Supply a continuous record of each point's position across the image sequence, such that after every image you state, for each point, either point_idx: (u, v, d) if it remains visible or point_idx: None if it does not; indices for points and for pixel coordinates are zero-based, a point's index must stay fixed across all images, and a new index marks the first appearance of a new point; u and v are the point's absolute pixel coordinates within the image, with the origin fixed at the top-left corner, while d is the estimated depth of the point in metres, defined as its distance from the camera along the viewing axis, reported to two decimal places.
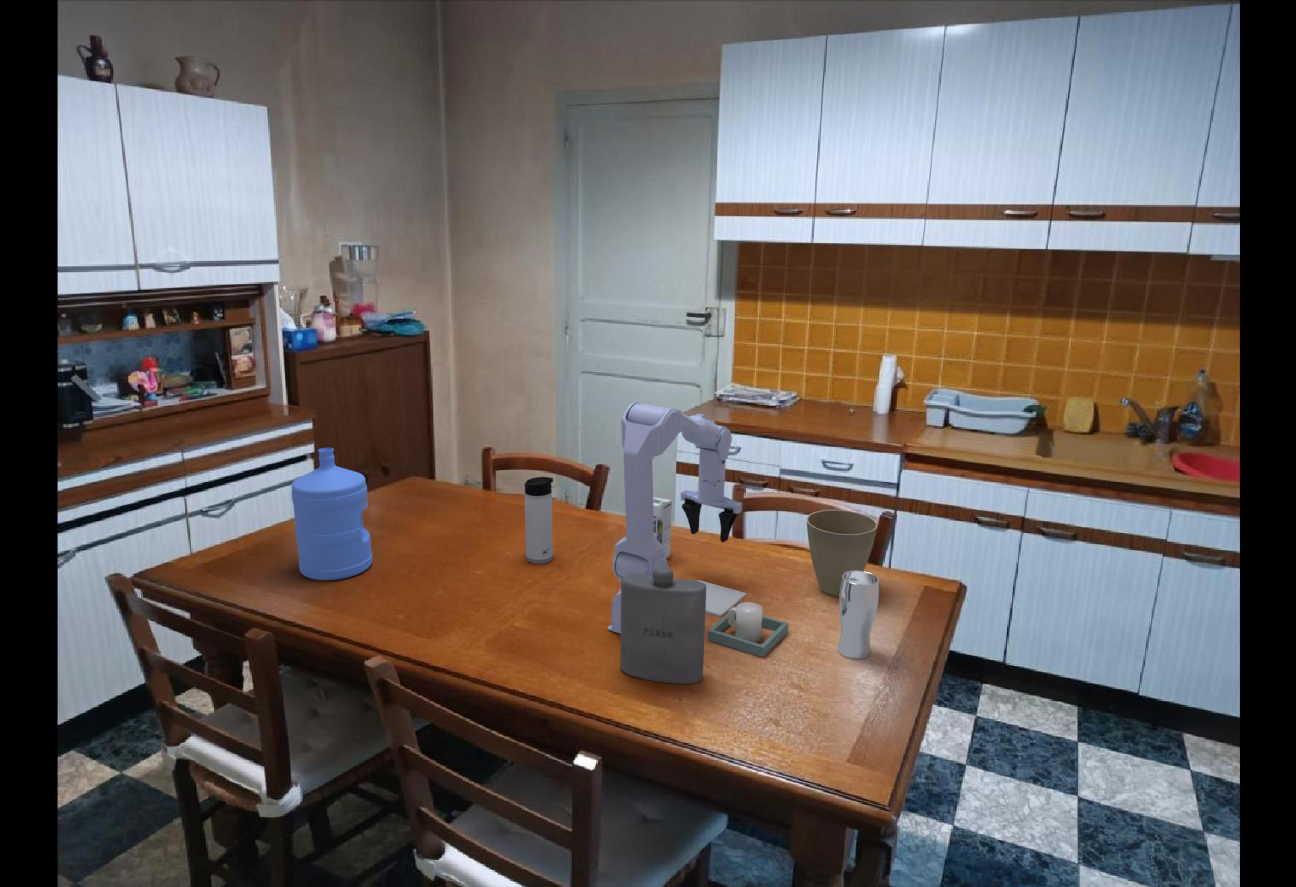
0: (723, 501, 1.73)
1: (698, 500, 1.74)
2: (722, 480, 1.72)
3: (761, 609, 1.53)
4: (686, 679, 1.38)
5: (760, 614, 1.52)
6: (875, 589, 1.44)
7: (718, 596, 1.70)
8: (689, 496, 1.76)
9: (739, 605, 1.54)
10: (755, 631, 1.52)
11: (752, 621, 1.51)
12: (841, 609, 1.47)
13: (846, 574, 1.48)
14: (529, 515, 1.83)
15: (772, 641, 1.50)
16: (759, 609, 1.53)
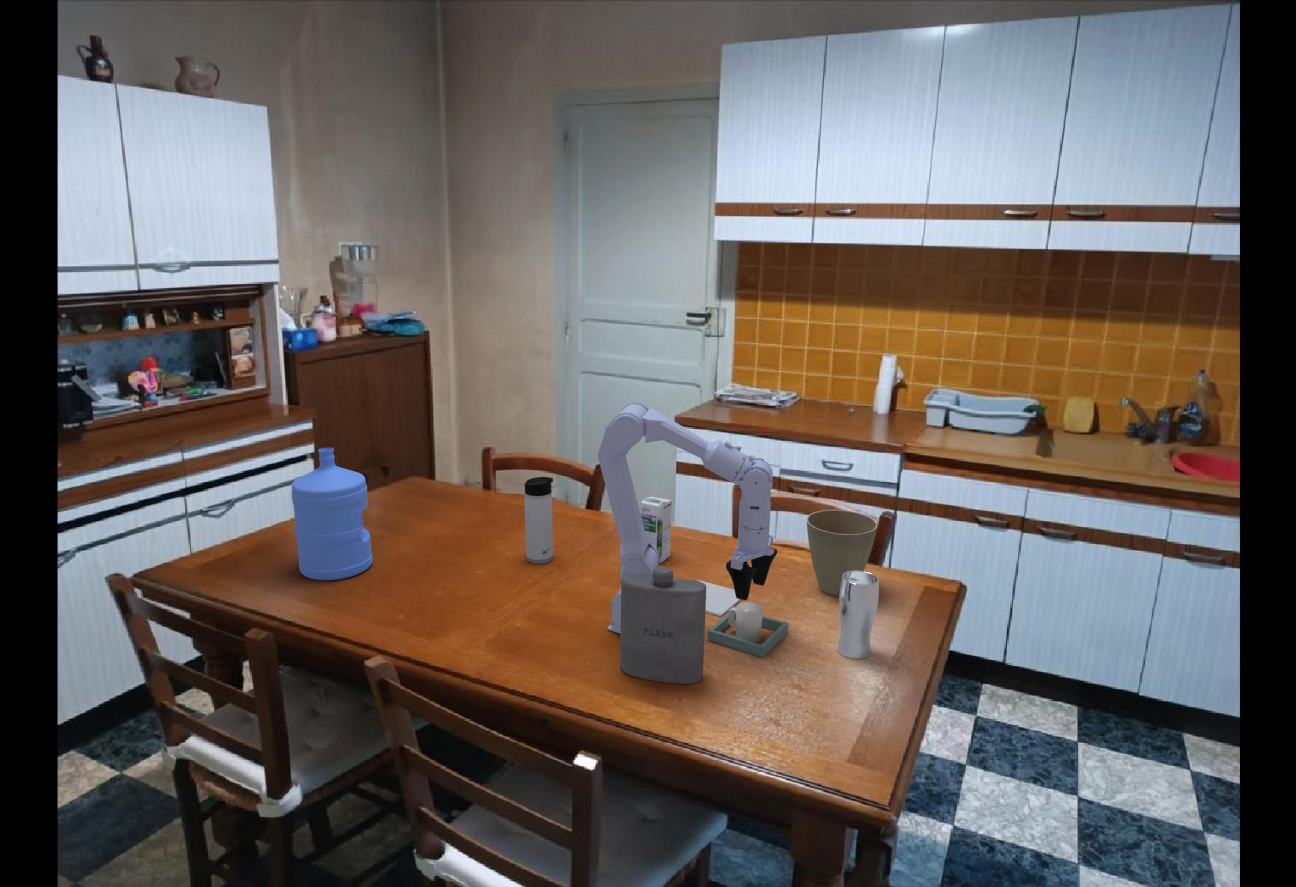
0: None
1: None
2: (746, 528, 1.47)
3: (761, 609, 1.53)
4: (686, 679, 1.38)
5: (760, 614, 1.52)
6: (875, 589, 1.44)
7: (718, 596, 1.70)
8: None
9: (739, 605, 1.54)
10: (755, 631, 1.52)
11: (752, 621, 1.51)
12: (841, 609, 1.47)
13: (846, 574, 1.48)
14: (529, 515, 1.83)
15: (772, 641, 1.50)
16: (759, 609, 1.53)
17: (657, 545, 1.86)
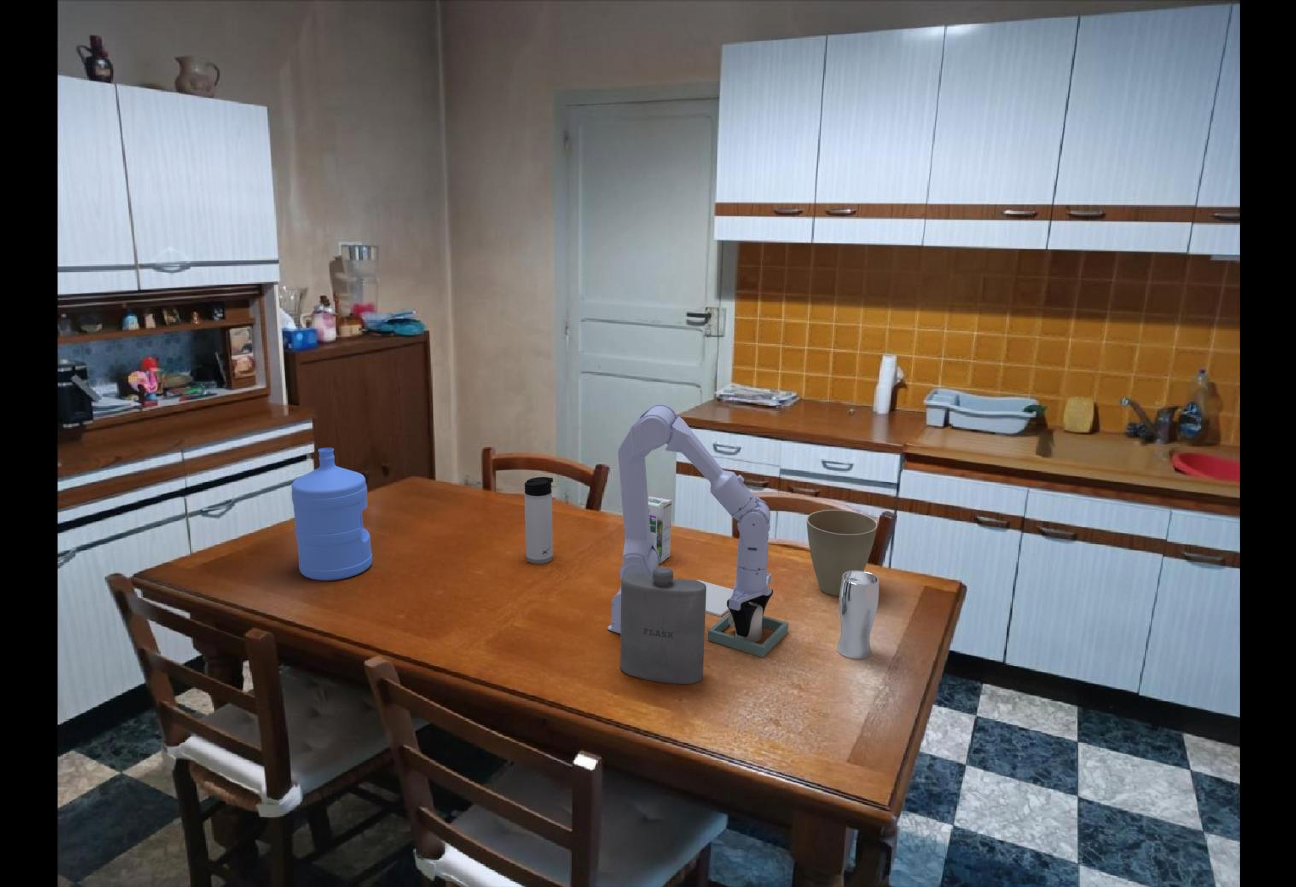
0: None
1: None
2: (744, 568, 1.49)
3: (761, 609, 1.53)
4: (686, 679, 1.38)
5: (760, 614, 1.52)
6: (875, 589, 1.44)
7: (718, 596, 1.70)
8: None
9: None
10: (755, 631, 1.52)
11: (752, 620, 1.51)
12: (841, 609, 1.47)
13: (846, 574, 1.48)
14: (529, 515, 1.83)
15: (772, 641, 1.50)
16: (759, 609, 1.53)
17: (657, 545, 1.86)
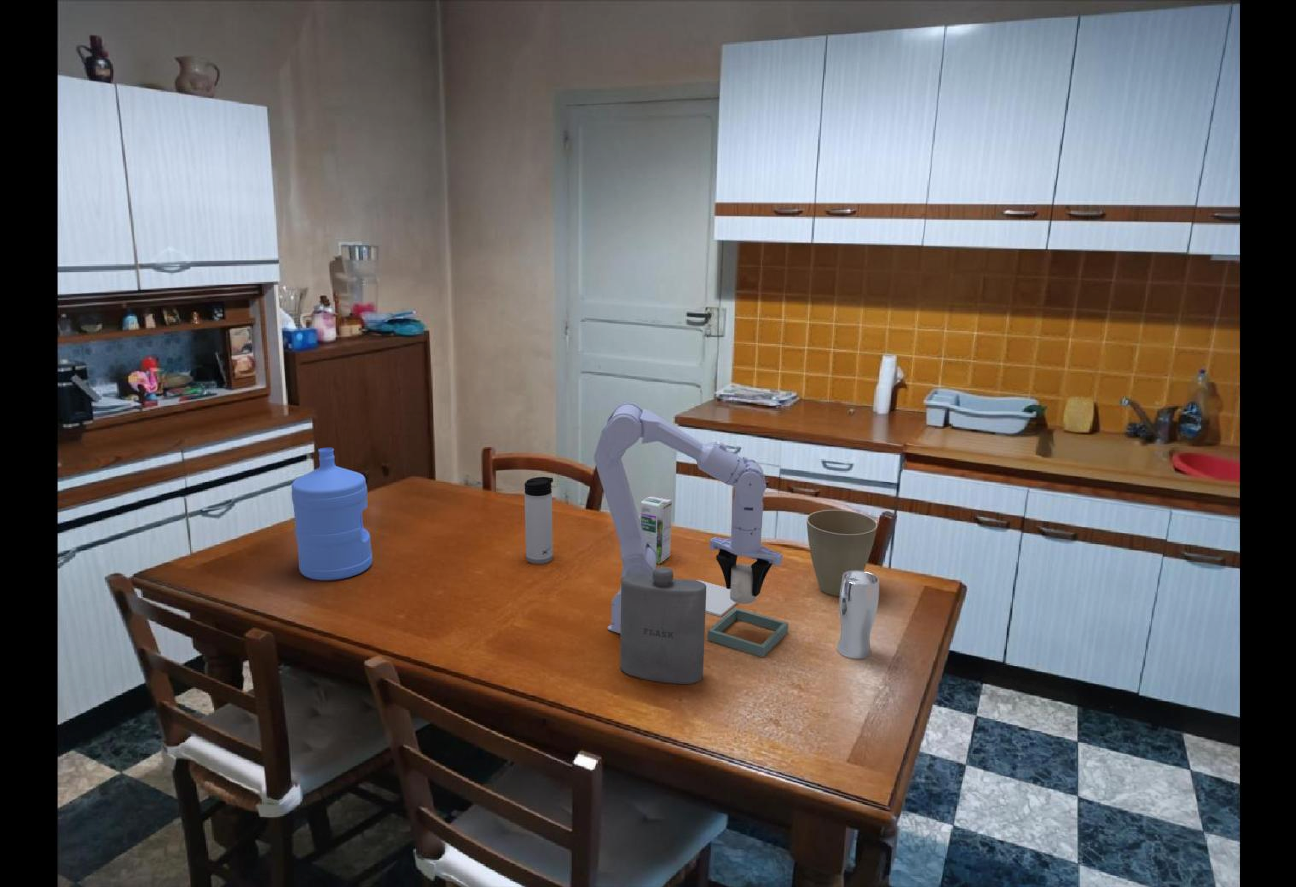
0: (760, 551, 1.51)
1: (731, 550, 1.51)
2: (759, 527, 1.50)
3: (745, 564, 1.56)
4: (686, 679, 1.38)
5: None
6: (875, 589, 1.44)
7: (718, 596, 1.70)
8: (720, 545, 1.54)
9: (739, 573, 1.52)
10: None
11: None
12: (841, 609, 1.47)
13: (846, 574, 1.48)
14: (529, 515, 1.83)
15: (772, 641, 1.50)
16: (746, 565, 1.56)
17: (657, 545, 1.86)
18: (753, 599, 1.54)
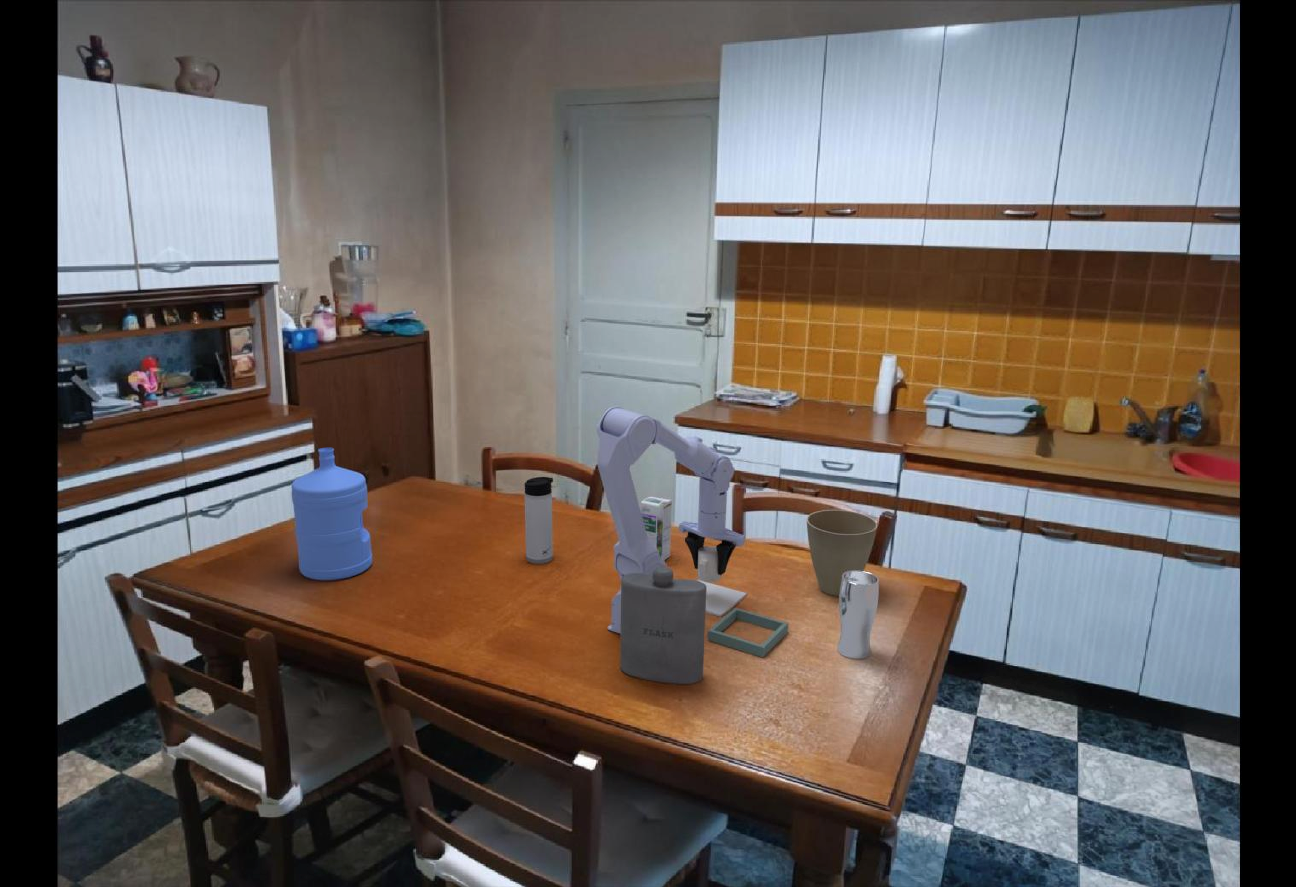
0: (725, 533, 1.64)
1: (698, 533, 1.65)
2: (724, 511, 1.63)
3: (710, 546, 1.69)
4: (686, 679, 1.38)
5: None
6: (875, 589, 1.44)
7: (718, 596, 1.70)
8: (688, 528, 1.67)
9: (706, 554, 1.65)
10: None
11: None
12: (841, 609, 1.47)
13: (846, 574, 1.48)
14: (529, 515, 1.83)
15: (772, 641, 1.50)
16: (711, 547, 1.69)
17: (657, 545, 1.86)
18: (719, 577, 1.67)
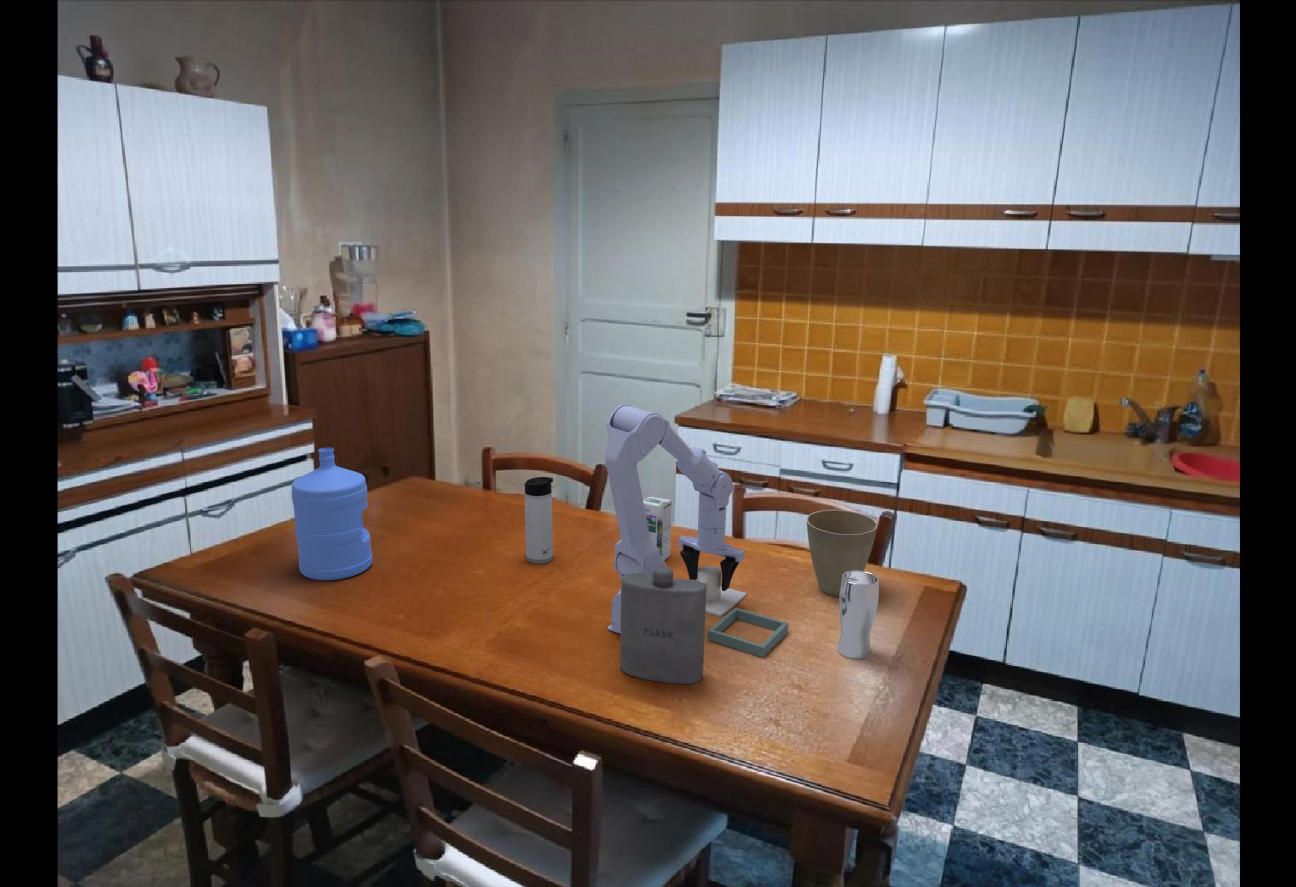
0: (724, 548, 1.65)
1: (698, 548, 1.66)
2: (723, 527, 1.64)
3: (709, 566, 1.70)
4: (686, 679, 1.38)
5: None
6: (875, 589, 1.44)
7: None
8: (688, 543, 1.68)
9: (705, 574, 1.66)
10: None
11: None
12: (841, 609, 1.47)
13: (846, 574, 1.48)
14: (529, 515, 1.83)
15: (772, 641, 1.50)
16: (710, 567, 1.70)
17: (657, 545, 1.86)
18: (718, 597, 1.68)
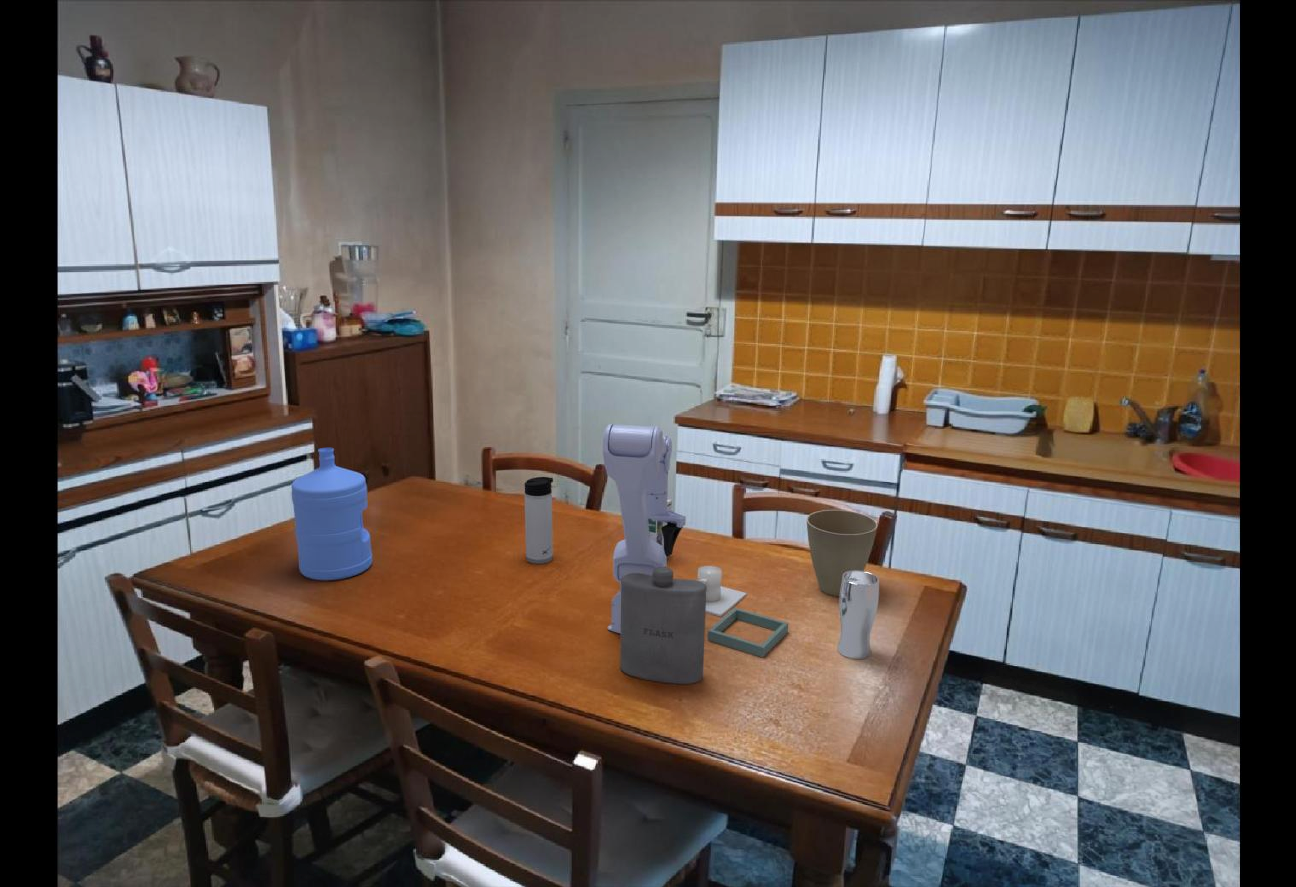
0: (666, 514, 1.66)
1: None
2: (665, 493, 1.65)
3: (710, 566, 1.71)
4: (686, 679, 1.38)
5: None
6: (875, 589, 1.44)
7: None
8: None
9: (705, 573, 1.66)
10: None
11: None
12: (841, 609, 1.47)
13: (846, 574, 1.48)
14: (529, 515, 1.83)
15: (772, 641, 1.50)
16: (711, 566, 1.70)
17: None
18: (718, 597, 1.68)
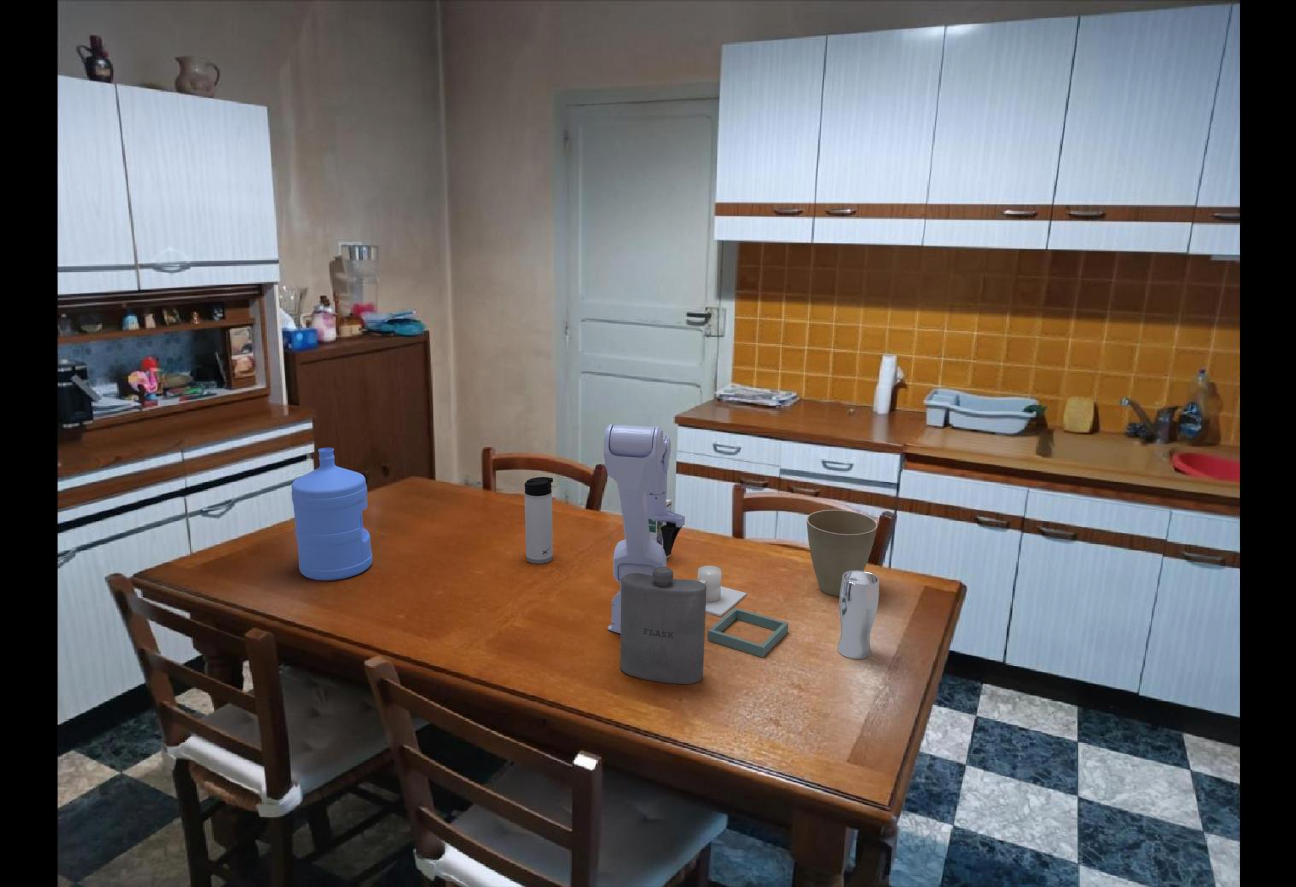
0: (665, 514, 1.66)
1: None
2: (664, 492, 1.65)
3: (711, 566, 1.70)
4: (686, 679, 1.38)
5: None
6: (875, 589, 1.44)
7: None
8: None
9: (705, 575, 1.66)
10: None
11: None
12: (841, 609, 1.47)
13: (846, 574, 1.48)
14: (529, 515, 1.83)
15: (772, 641, 1.50)
16: (711, 567, 1.70)
17: None
18: (718, 598, 1.68)
